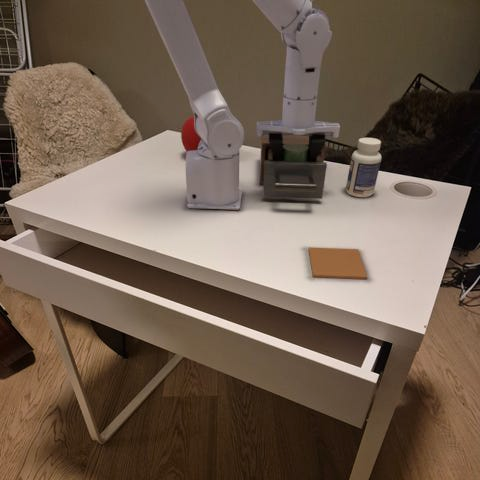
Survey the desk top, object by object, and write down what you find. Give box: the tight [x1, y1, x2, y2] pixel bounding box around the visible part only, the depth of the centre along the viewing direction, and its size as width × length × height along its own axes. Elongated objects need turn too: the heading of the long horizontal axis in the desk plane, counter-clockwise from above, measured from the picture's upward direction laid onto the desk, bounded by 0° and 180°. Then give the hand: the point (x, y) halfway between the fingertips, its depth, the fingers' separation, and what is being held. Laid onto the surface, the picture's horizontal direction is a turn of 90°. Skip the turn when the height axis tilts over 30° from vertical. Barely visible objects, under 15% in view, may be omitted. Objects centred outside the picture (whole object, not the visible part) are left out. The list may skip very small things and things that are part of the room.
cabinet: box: [259, 135, 327, 186], centre depth 86 cm, size 14×12×8 cm
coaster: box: [308, 246, 368, 280], centre depth 61 cm, size 8×8×1 cm
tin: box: [282, 143, 309, 162], centre depth 78 cm, size 5×5×6 cm
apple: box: [180, 115, 201, 153], centre depth 93 cm, size 9×9×10 cm
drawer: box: [262, 147, 328, 200], centre depth 78 cm, size 17×11×6 cm, turn 177°
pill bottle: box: [345, 137, 382, 198], centre depth 78 cm, size 5×5×10 cm
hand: (293, 175), depth 79 cm, fingers closed on drawer, tin, 5 cm apart
